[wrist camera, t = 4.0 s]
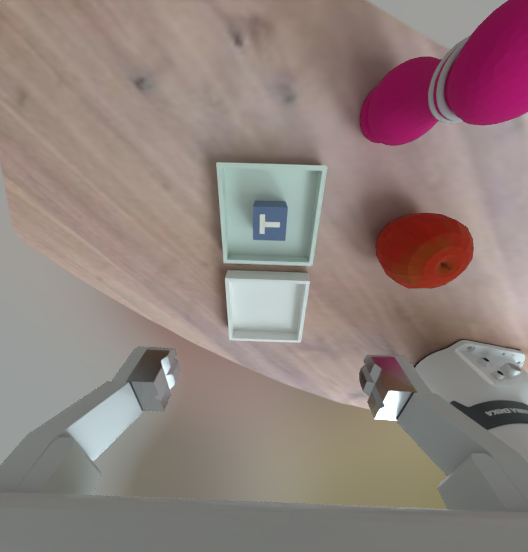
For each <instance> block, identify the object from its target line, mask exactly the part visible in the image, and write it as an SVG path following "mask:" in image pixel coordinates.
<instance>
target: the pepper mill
mask: <svg viewBox="0 0 528 552" xmlns="http://www.w3.org/2000/svg"><path fill="white" fill-rule="evenodd" d="M527 112H528V0H508V1H507V2H505V3H504V4H503V5H501V6H500V7H499V8H497V9H496V10H495V11H493V12H492V13H491V14H490V16H488V17H487V18H486V19H485V20H484V21H483V22H482V23H481V24H480V25H479V26H478V28H477V29H476V30H475V31H474V32H473V33H472V35H471V36H469V37H467V38H465V39H464V40H462V41H461V42H459V43H458V44H456V45H455V46H454V47H453V48H452V49H451V50H450V51H449V52H448V53H447V54H446V55H445V56H444V58H443V59H441V60H439V59H437V58H433V57H418V58H414V59H410V60H408V61H406V62H404V63H402V64H400V65H399V66H397V67H395V68H394V69H393V70H391V71H390V72H389V73H388V74H387V75H386V76H385V77H384V78H383V79H382V81H381V82H380V84H379V85H378V86H377V87H376V88H374V89H373V90H372V91H371V93H370V94H369V95H368V97H367V98H366V100H365V102H364V104H363V107H362V110H361V114H360V126H361V130H362V132H363V134H364V135H365V137H366V138H367V139H368V140H370V141H372V142H375V143H383V144H386V145H392V146H394V145H401V144H405V143H408V142H411V141H413V140H415V139H417V138H419V137H420V136H422V135H423V134H425V133H426V132H427V131H428V130H430V129H431V128H432V127H433V126H434V125H435V124H436V123H437V122H438V121H441V122H444V123H449V124H453V123H458V122H466V123H468V124H473V125H491V124H497V123H501V122H504V121H508V120H511V119H514V118H516V117H519V116H521V115H523V114H525V113H527Z"/></svg>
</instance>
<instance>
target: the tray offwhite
mask: <svg viewBox="0 0 528 552" xmlns="http://www.w3.org/2000/svg"><path fill="white" fill-rule="evenodd" d="M309 285H310V279H309V276H308V273H303V272H273V271H243V270H228V271H227V274H226V276H225V287H226V301H227V314H228V327H229V340H239V341H267V342H296V343H301V338H302V331H303V324H304V318H305V311H306V305H307V298H308V292H309Z"/></svg>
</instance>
